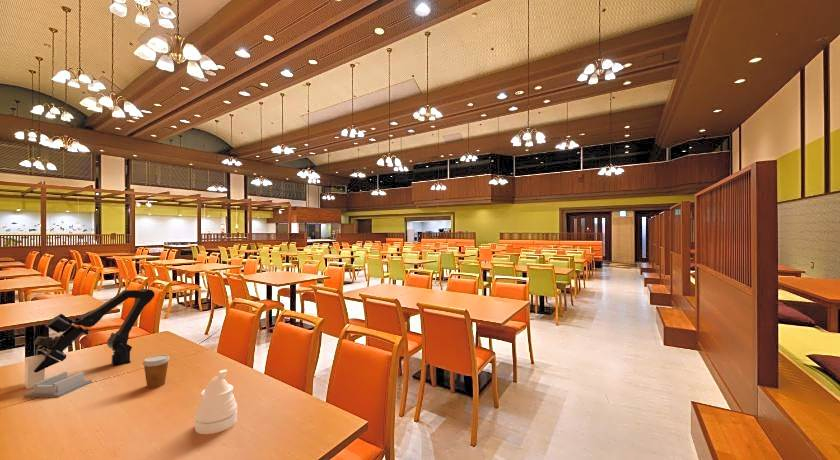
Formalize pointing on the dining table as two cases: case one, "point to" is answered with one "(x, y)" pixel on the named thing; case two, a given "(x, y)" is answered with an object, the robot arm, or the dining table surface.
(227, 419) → the honey pot
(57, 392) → the slot rack
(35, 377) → the cream block
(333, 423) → the dining table surface
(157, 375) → the disposable coffee cup
